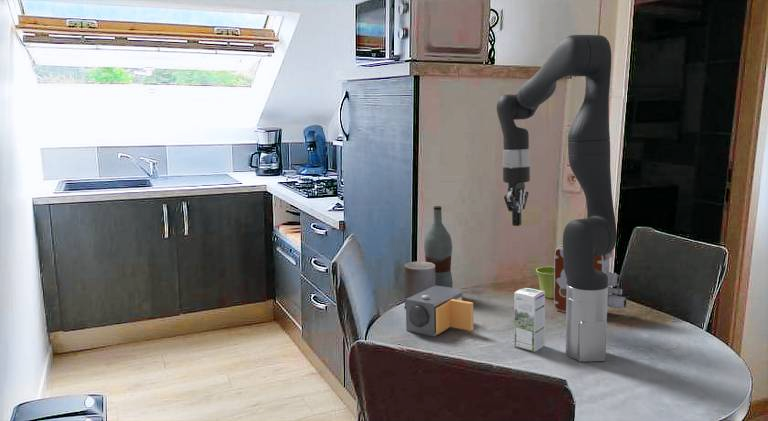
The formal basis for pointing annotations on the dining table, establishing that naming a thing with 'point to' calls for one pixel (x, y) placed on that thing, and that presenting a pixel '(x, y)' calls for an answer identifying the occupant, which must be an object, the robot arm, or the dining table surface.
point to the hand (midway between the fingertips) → (516, 225)
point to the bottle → (439, 250)
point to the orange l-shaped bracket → (454, 315)
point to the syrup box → (529, 319)
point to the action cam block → (428, 308)
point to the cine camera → (599, 264)
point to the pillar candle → (418, 277)
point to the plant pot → (546, 280)
